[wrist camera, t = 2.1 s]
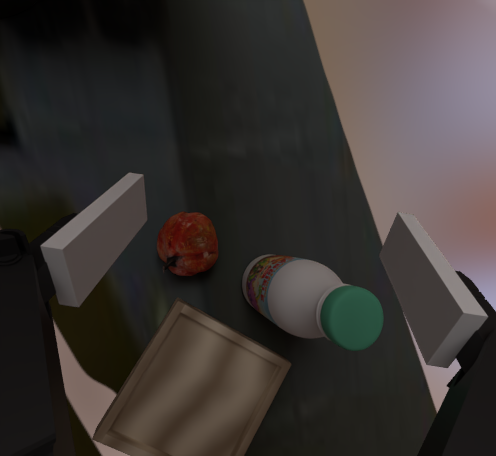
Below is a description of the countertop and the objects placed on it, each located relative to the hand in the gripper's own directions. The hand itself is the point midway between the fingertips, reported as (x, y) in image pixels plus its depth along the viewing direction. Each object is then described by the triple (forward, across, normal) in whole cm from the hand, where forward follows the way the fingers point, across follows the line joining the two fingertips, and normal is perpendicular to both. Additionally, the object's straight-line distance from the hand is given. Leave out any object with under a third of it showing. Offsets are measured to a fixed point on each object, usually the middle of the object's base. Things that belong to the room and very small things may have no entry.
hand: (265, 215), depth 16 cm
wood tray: (+7, -5, -30) cm, 31 cm away
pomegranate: (+17, -9, -15) cm, 24 cm away
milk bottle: (+17, +2, -20) cm, 26 cm away
